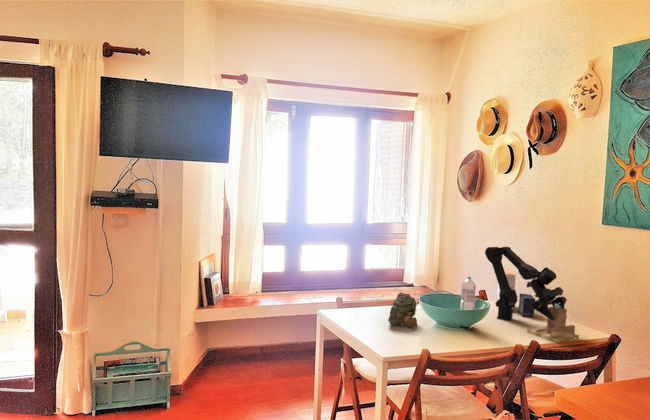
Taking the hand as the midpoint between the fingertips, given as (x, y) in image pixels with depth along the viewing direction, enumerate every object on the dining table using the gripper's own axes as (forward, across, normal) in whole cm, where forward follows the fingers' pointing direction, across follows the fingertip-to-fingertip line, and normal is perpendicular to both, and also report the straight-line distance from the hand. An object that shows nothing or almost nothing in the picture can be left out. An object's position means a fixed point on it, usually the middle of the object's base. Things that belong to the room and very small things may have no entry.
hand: (559, 318), depth 214 cm
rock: (-23, -59, +36) cm, 72 cm away
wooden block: (+4, 0, +6) cm, 7 cm away
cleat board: (+4, 0, +8) cm, 9 cm away
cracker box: (-28, +18, +40) cm, 52 cm away
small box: (-17, +18, +30) cm, 38 cm away
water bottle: (-14, -30, +26) cm, 42 cm away
